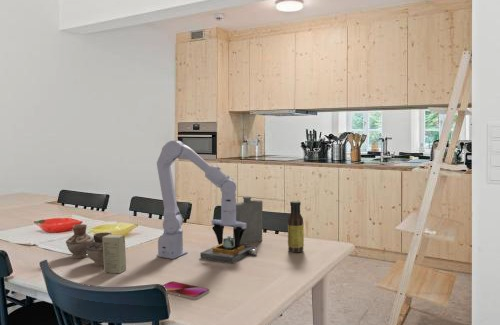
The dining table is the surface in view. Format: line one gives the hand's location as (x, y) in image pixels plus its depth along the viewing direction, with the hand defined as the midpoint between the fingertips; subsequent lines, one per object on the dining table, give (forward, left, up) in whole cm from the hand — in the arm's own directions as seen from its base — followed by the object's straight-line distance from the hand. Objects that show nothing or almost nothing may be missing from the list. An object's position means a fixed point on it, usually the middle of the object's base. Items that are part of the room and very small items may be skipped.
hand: (228, 245), depth 157 cm
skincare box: (-35, +24, -4) cm, 43 cm away
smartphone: (-38, -7, -4) cm, 39 cm away
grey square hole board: (0, -1, -4) cm, 4 cm away
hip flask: (+19, +2, -4) cm, 19 cm away
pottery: (-30, +41, -4) cm, 51 cm away
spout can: (0, 0, -4) cm, 4 cm away
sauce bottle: (+17, -21, -4) cm, 27 cm away
